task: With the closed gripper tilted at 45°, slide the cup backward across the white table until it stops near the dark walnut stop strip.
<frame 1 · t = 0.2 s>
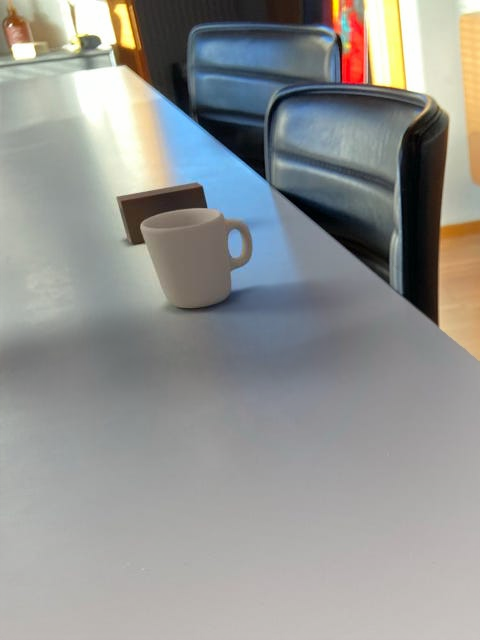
stop strip: (170, 234, 126), on the table
cup: (213, 299, 103), on the table
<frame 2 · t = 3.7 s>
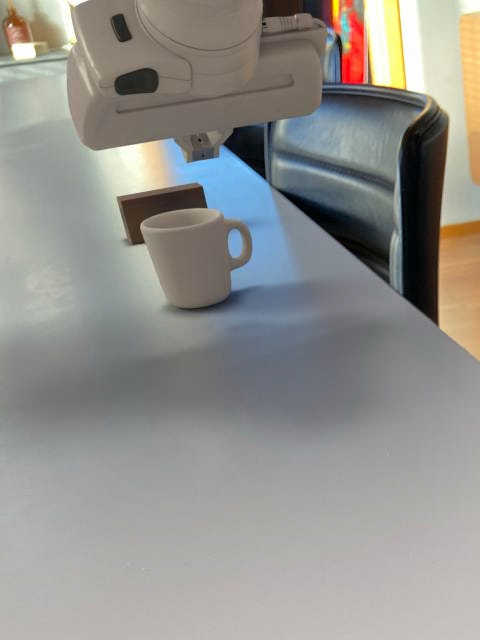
hand: (199, 154, 89), 15 cm above the table, tool tilted 45°, fingers closed
nothing on the table moved.
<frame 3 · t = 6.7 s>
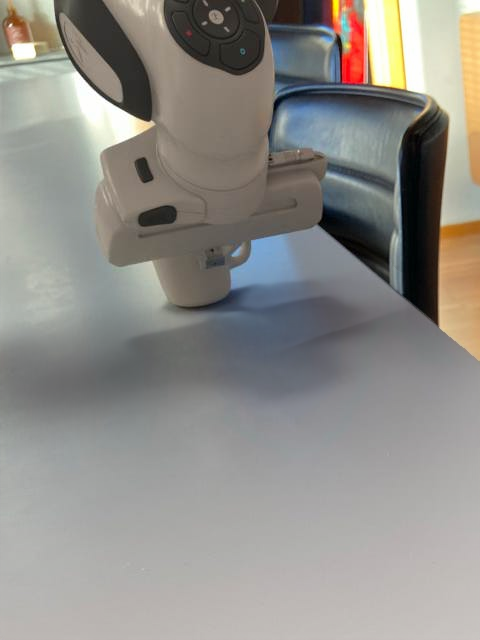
hand: (212, 261, 98), 4 cm above the table, tool tilted 45°, fingers closed
cup: (213, 298, 104), on the table, touching gripper
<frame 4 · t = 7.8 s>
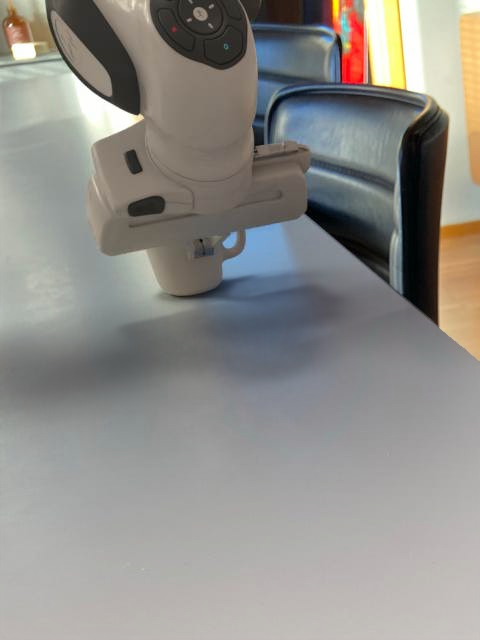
hand: (201, 251, 102), 4 cm above the table, tool tilted 45°, fingers closed
cup: (206, 287, 107), on the table, touching gripper
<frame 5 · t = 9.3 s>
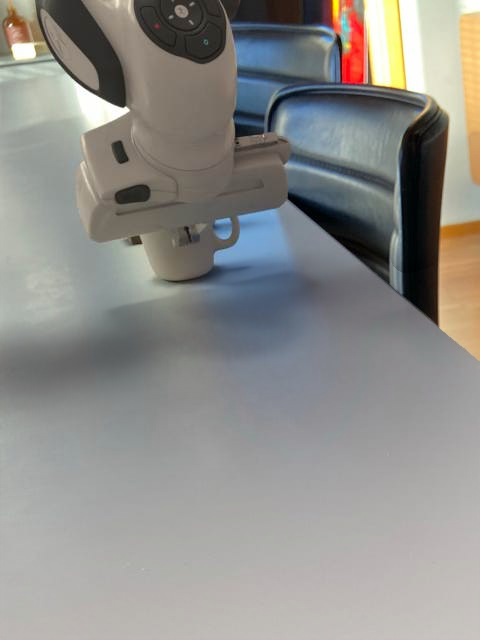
hand: (186, 239, 106), 4 cm above the table, tool tilted 45°, fingers closed, pressing on cup
cup: (199, 274, 111), on the table, touching gripper
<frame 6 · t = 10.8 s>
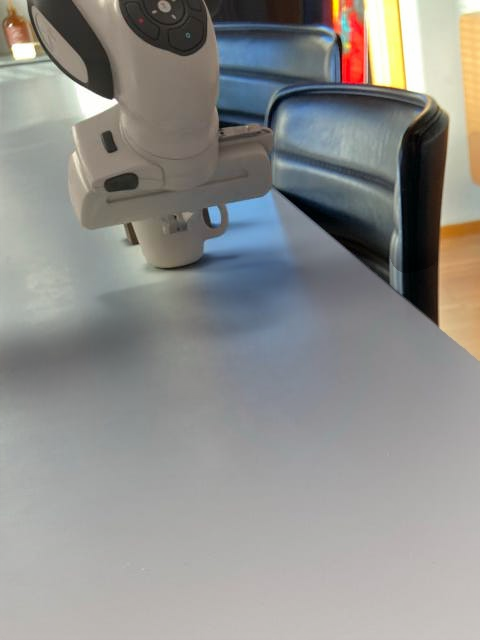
hand: (175, 227, 110), 4 cm above the table, tool tilted 45°, fingers closed, pressing on cup
cup: (189, 262, 116), on the table, touching gripper
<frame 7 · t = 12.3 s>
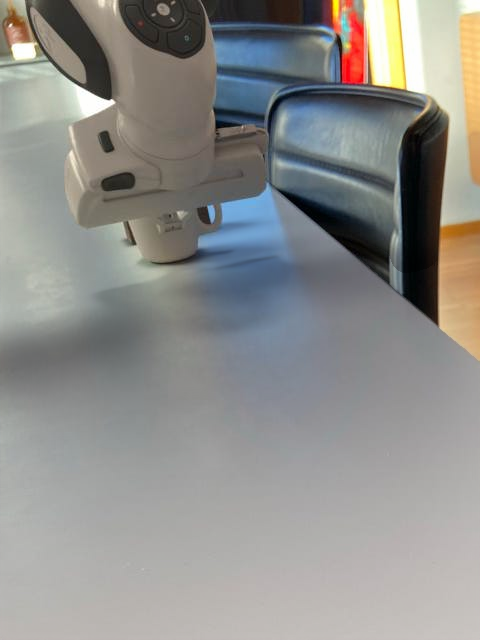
hand: (170, 225, 111), 4 cm above the table, tool tilted 45°, fingers closed
cup: (184, 257, 117), on the table
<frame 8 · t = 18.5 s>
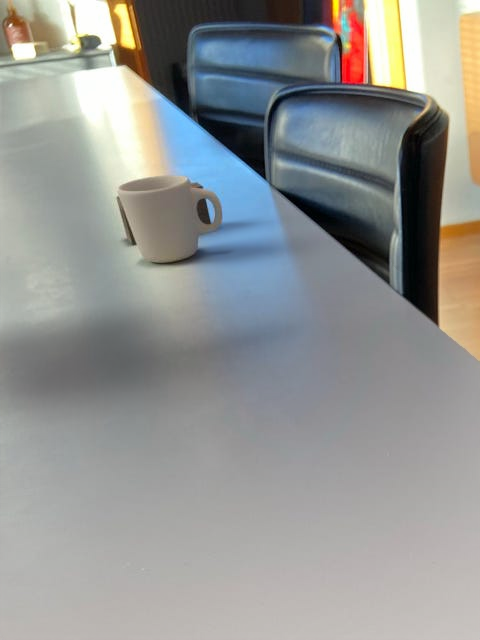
nothing on the table moved.
at the end: cup moved 18.3 cm from its start; cup 11.6 cm from the stop strip (horizontally); cup tilted 0° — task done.
